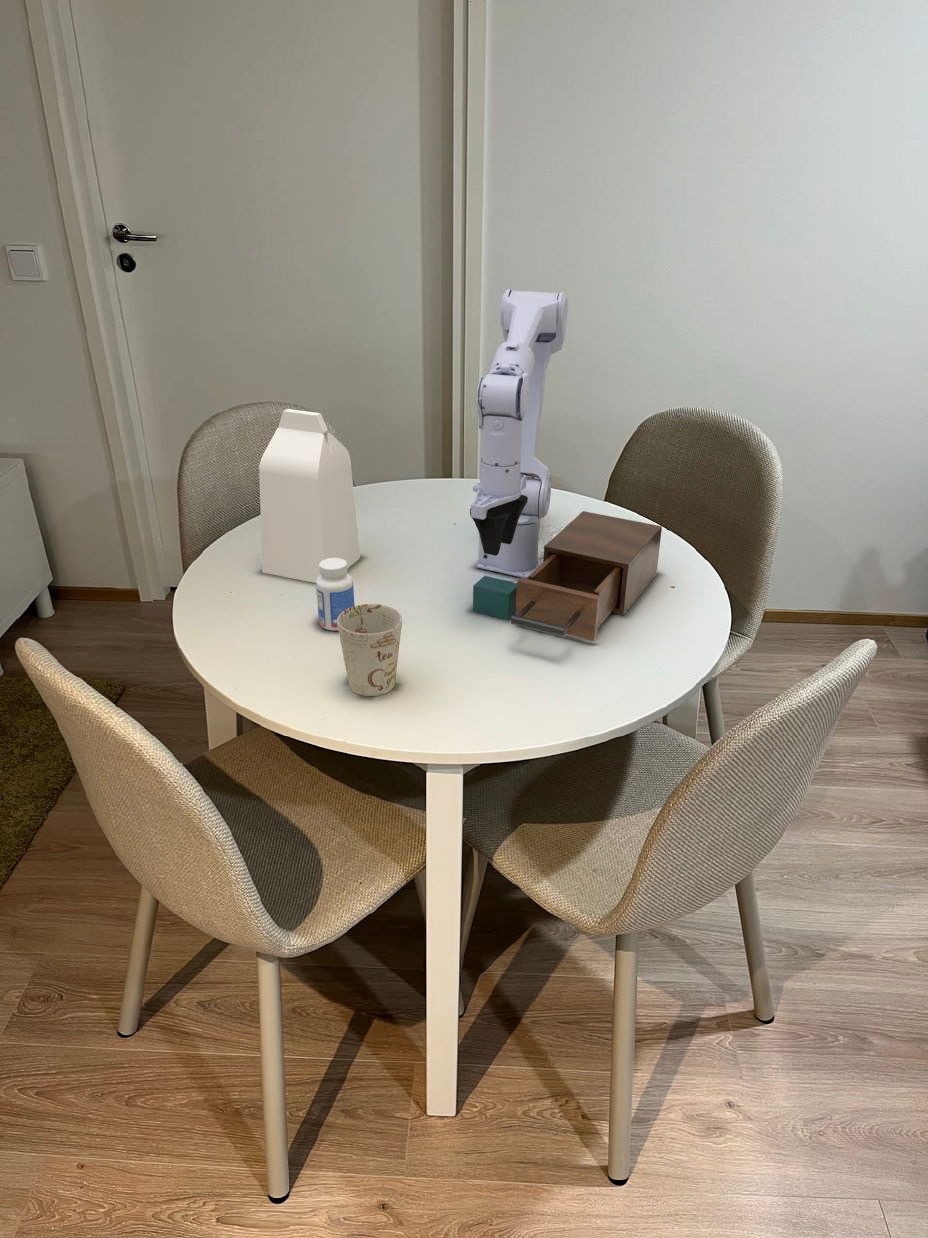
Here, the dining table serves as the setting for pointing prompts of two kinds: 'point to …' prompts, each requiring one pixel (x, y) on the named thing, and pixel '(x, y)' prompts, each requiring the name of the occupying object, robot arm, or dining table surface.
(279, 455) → the milk
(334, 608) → the pill bottle
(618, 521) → the cabinet
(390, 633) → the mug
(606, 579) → the drawer
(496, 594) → the tea box
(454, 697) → the dining table surface
